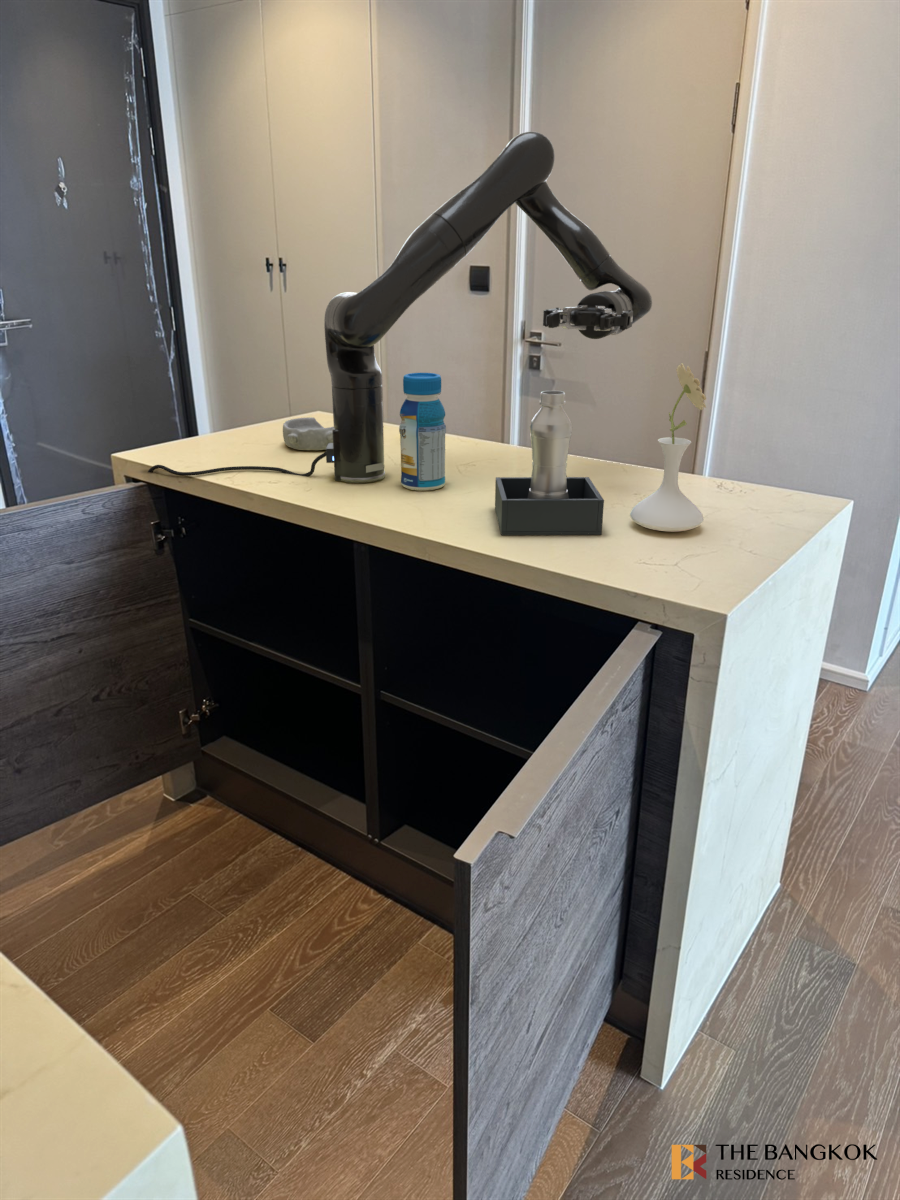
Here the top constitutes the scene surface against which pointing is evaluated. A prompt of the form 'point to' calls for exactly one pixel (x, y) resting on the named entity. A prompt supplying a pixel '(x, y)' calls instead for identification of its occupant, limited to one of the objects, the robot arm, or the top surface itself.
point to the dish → (306, 434)
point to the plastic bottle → (550, 448)
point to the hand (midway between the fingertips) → (576, 322)
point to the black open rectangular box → (548, 509)
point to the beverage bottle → (422, 433)
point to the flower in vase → (672, 474)
